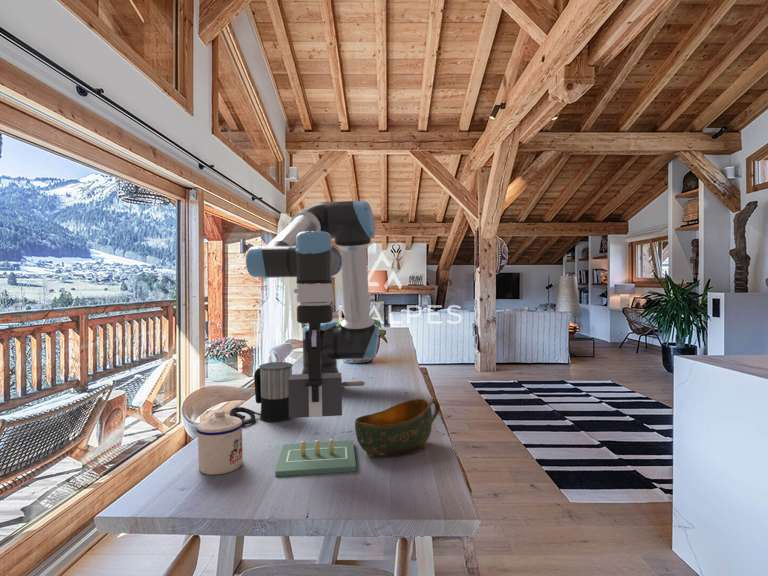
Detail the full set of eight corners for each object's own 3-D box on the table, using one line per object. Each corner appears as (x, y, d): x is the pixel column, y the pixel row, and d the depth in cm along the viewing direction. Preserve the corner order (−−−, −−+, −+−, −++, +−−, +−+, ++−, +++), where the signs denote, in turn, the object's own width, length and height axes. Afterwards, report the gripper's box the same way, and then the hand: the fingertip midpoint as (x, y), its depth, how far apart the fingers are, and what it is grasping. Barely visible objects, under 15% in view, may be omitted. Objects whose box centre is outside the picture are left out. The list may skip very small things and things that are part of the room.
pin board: (283, 448, 100) (283, 431, 100) (353, 444, 102) (352, 427, 101) (275, 476, 86) (274, 456, 86) (356, 471, 88) (355, 451, 88)
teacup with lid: (239, 474, 87) (237, 416, 87) (191, 477, 86) (190, 419, 85) (249, 450, 99) (248, 400, 99) (208, 453, 98) (206, 402, 97)
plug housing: (291, 410, 95) (290, 374, 95) (364, 407, 97) (363, 371, 97) (288, 418, 90) (288, 379, 90) (365, 414, 92) (365, 376, 92)
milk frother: (300, 413, 125) (299, 362, 124) (265, 432, 110) (264, 374, 110) (260, 408, 130) (259, 359, 130) (221, 425, 116) (220, 370, 115)
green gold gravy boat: (449, 459, 93) (447, 412, 92) (355, 462, 92) (354, 415, 92) (439, 437, 106) (438, 396, 105) (357, 440, 105) (356, 398, 105)
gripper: (300, 302, 101) (301, 401, 102) (292, 306, 83) (294, 427, 84) (332, 301, 102) (333, 400, 102) (332, 306, 84) (333, 425, 85)
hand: (316, 412), depth 93 cm, fingers closed on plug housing, 5 cm apart
